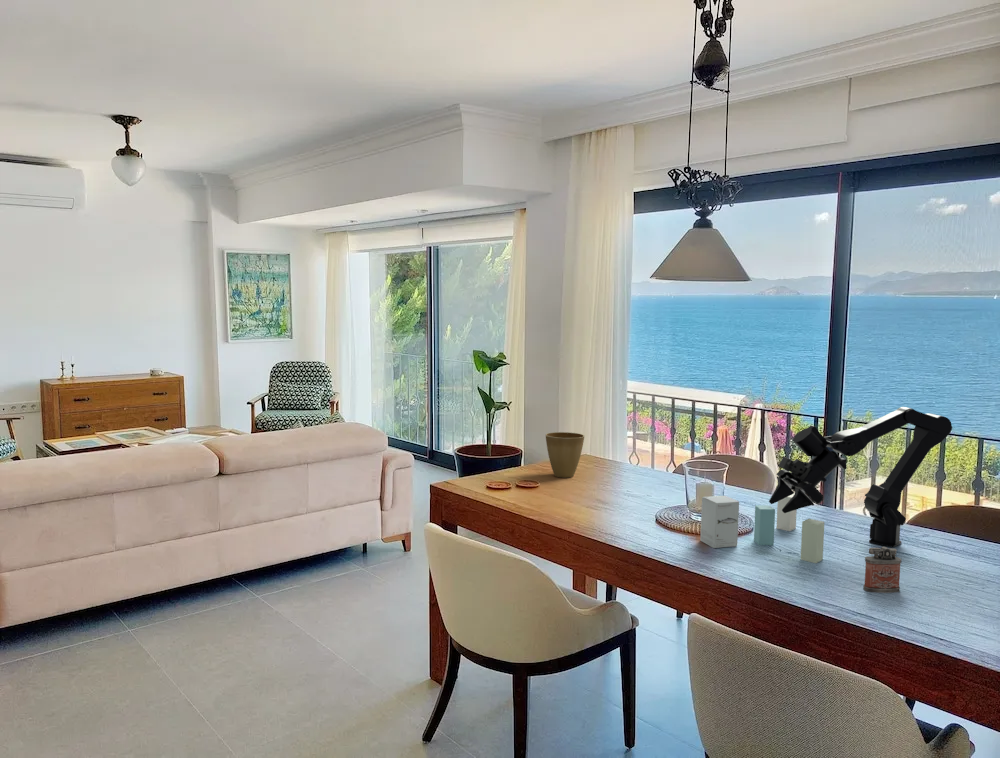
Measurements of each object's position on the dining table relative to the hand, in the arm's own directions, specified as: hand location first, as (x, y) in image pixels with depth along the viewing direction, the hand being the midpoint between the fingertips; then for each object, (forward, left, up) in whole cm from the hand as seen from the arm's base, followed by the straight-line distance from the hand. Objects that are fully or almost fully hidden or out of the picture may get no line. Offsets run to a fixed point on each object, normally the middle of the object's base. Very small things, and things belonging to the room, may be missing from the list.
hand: (776, 507), depth 203 cm
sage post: (-13, +6, -10) cm, 18 cm away
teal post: (+2, +2, -10) cm, 11 cm away
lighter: (-33, +15, -10) cm, 38 cm away
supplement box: (+10, +12, -10) cm, 19 cm away
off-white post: (+4, -16, -10) cm, 19 cm away
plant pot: (+94, -20, -10) cm, 97 cm away
